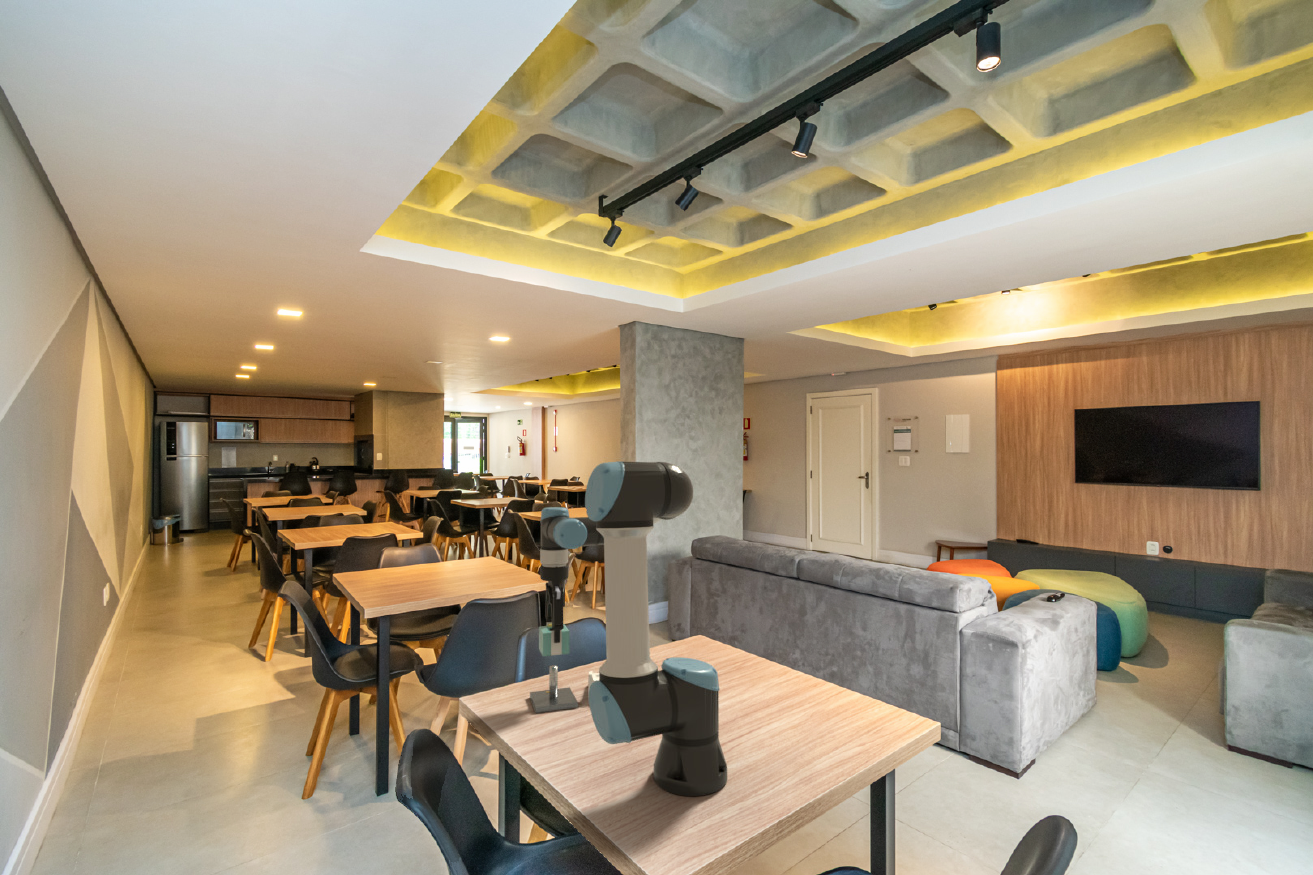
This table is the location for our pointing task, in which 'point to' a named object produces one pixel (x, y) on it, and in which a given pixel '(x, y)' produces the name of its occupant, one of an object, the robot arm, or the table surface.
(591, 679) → the bracket
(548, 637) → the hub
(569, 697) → the shaft base
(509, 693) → the table surface
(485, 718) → the table surface
